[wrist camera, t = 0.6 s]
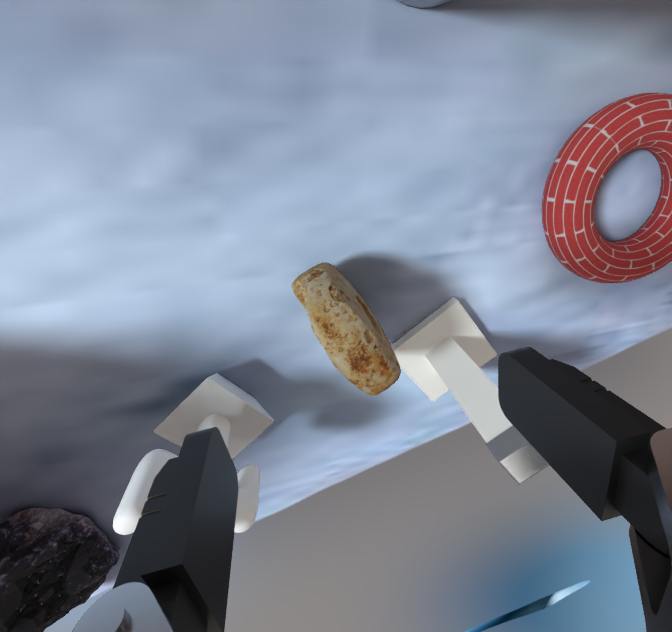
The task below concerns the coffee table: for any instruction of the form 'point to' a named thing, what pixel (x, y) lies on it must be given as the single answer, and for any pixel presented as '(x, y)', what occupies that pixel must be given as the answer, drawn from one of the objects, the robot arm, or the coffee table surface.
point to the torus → (585, 178)
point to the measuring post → (465, 382)
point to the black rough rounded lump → (49, 566)
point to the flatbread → (347, 329)
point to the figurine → (195, 415)
